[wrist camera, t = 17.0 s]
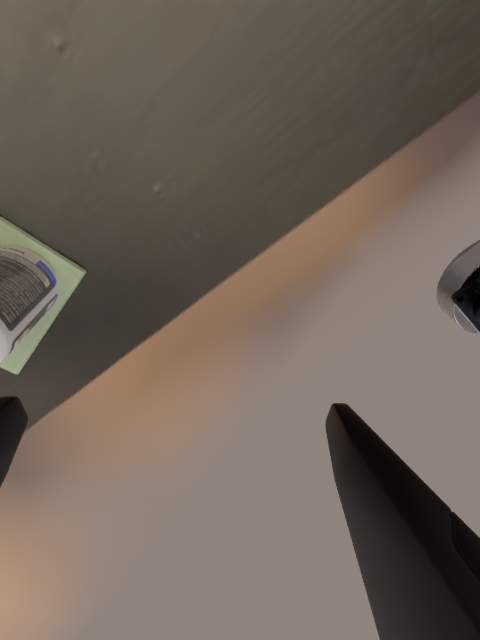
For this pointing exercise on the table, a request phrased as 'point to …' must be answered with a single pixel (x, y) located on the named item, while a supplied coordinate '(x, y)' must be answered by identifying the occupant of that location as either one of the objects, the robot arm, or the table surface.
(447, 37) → the table surface
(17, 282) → the pill bottle
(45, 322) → the mat
